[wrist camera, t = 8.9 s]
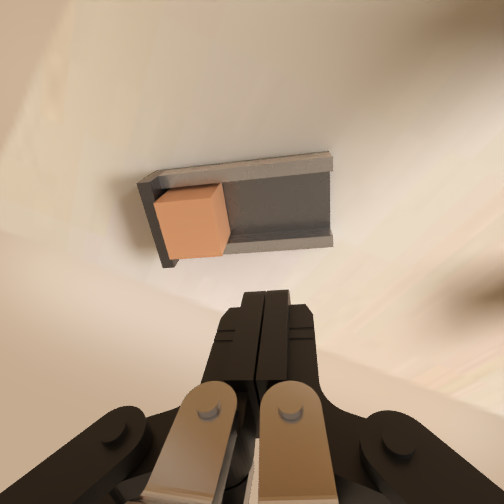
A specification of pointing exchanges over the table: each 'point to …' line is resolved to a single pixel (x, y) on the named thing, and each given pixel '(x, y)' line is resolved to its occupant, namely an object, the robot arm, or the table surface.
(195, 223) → the block
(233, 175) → the chute
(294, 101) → the table surface
